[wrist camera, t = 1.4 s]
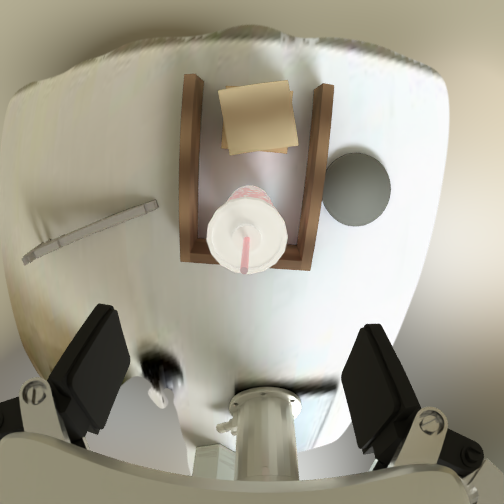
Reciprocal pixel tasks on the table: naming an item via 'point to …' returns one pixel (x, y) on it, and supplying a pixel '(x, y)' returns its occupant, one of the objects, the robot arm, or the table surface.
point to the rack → (189, 172)
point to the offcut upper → (258, 117)
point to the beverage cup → (247, 232)
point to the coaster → (356, 189)
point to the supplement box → (214, 462)
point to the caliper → (88, 230)
